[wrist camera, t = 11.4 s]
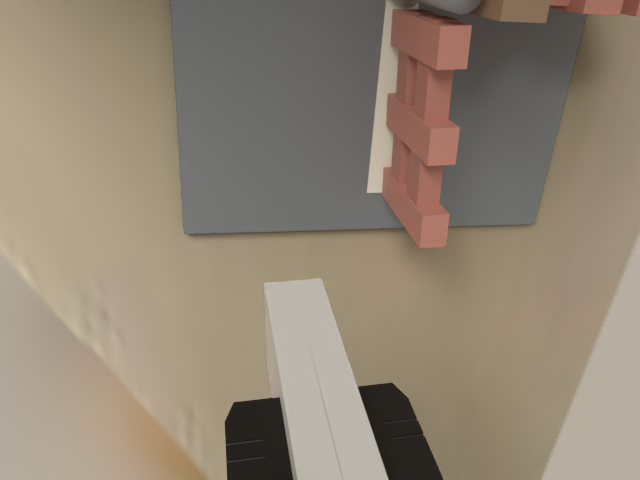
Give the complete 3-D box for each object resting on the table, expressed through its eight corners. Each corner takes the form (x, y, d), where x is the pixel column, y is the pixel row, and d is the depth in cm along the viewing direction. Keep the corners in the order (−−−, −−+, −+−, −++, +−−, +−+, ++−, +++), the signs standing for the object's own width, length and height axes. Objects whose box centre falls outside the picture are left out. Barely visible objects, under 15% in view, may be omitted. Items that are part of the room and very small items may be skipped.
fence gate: (391, -40, 29) (445, -35, 22) (425, -40, 29) (488, -35, 23) (378, 196, 35) (418, 254, 28) (406, 194, 35) (452, 251, 29)
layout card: (161, -170, 26) (160, -172, 25) (614, -126, 30) (623, -127, 29) (184, 229, 35) (183, 234, 34) (529, 220, 39) (534, 224, 38)
